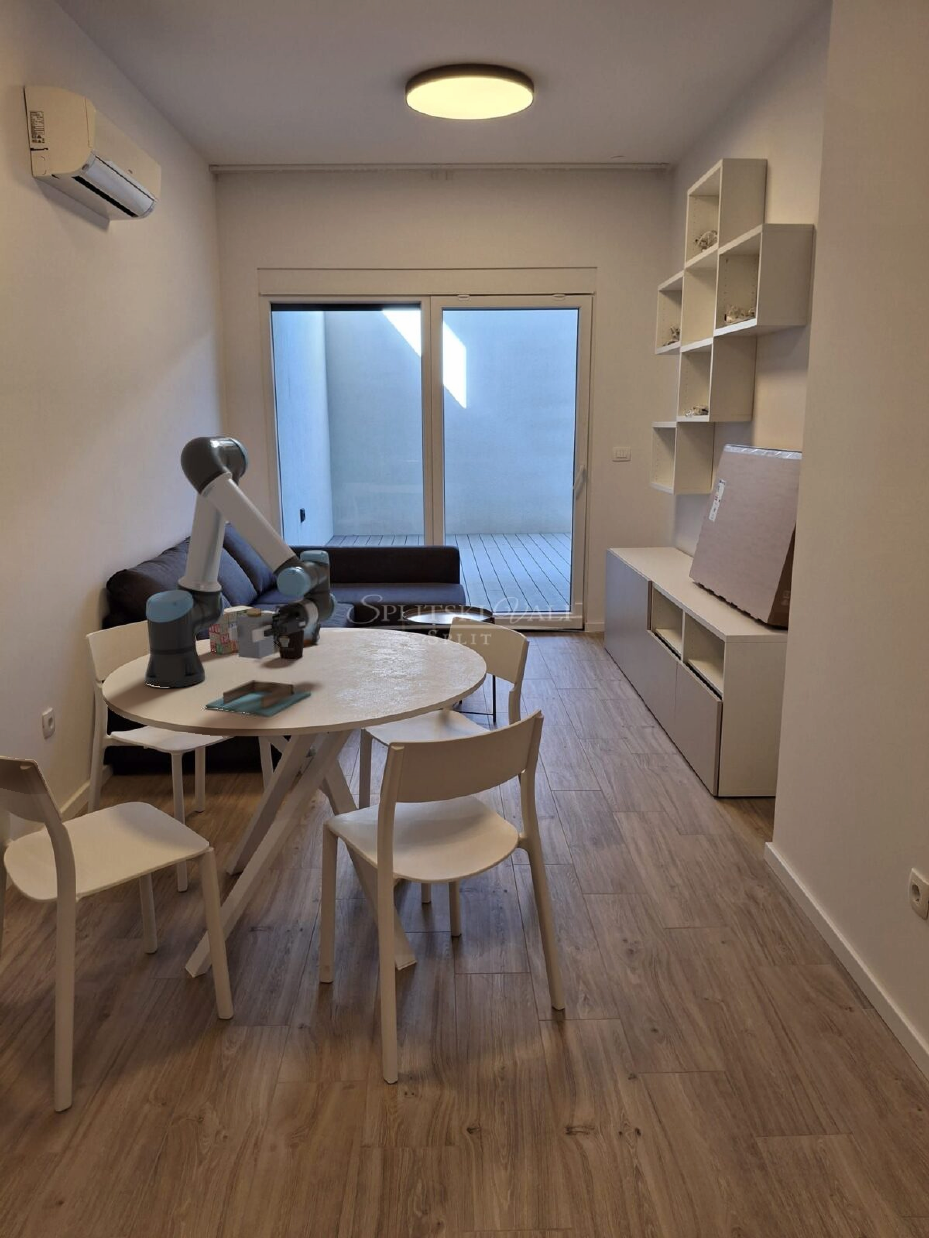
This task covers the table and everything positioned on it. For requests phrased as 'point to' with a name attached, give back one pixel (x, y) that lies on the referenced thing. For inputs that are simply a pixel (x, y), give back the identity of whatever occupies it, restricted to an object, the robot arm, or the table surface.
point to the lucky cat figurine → (308, 632)
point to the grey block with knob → (245, 638)
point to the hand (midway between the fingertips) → (242, 635)
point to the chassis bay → (259, 698)
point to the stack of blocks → (227, 630)
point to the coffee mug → (291, 645)
